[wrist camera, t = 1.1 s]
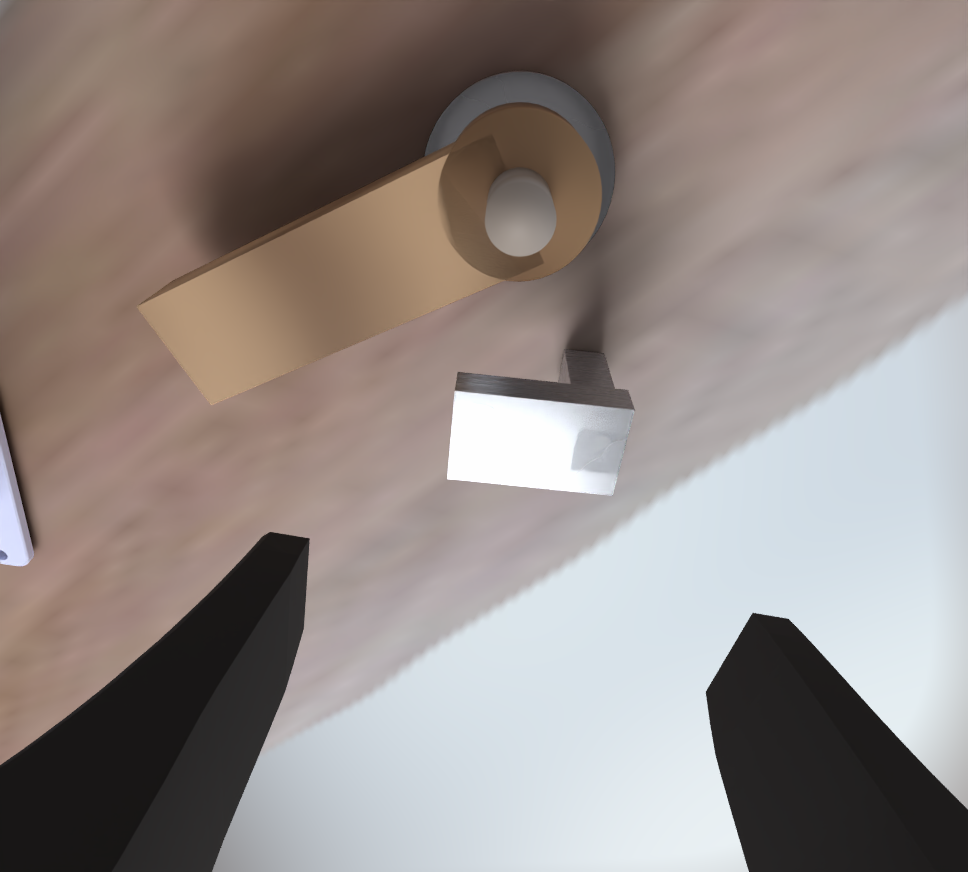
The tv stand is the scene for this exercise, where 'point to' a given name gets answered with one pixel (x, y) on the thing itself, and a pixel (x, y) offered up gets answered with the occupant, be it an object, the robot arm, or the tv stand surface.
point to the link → (387, 252)
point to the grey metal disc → (538, 92)
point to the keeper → (542, 428)
